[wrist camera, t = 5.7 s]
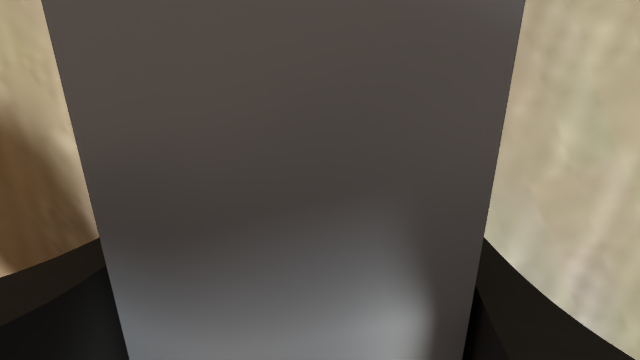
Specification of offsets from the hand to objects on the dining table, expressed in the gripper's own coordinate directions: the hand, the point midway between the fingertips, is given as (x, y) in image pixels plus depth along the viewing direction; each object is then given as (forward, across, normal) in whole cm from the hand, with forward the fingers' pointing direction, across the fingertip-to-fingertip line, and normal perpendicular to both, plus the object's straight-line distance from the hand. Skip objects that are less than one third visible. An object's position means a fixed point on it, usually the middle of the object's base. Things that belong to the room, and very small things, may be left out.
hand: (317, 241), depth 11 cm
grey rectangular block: (+2, 0, 0) cm, 2 cm away
